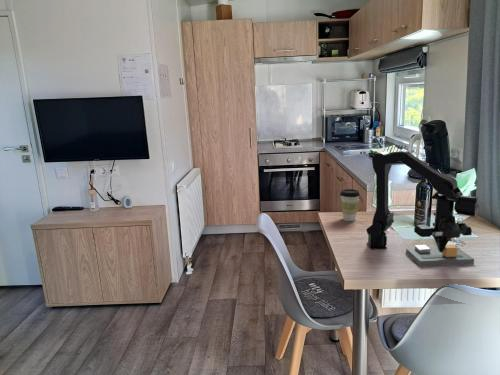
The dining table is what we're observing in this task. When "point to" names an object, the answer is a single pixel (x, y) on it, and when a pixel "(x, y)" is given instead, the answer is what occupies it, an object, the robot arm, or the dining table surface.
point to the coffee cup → (349, 203)
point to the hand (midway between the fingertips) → (440, 251)
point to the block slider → (450, 251)
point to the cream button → (450, 243)
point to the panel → (439, 257)
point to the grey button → (422, 249)
